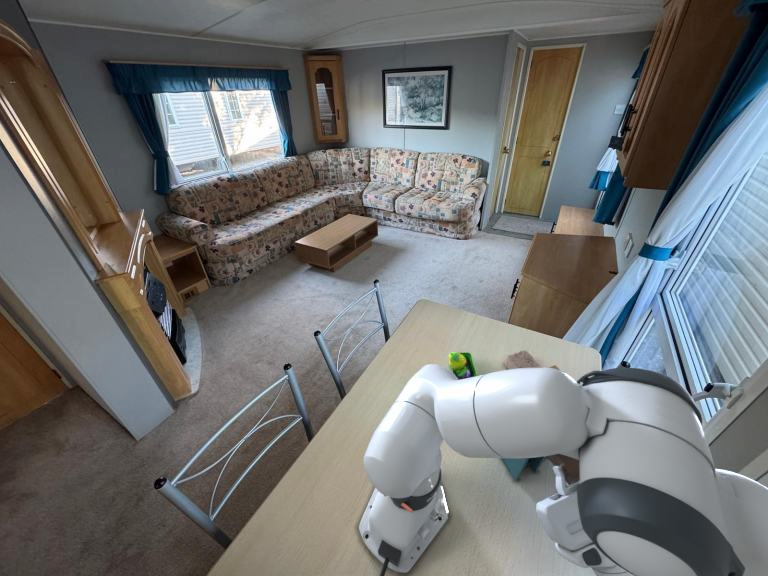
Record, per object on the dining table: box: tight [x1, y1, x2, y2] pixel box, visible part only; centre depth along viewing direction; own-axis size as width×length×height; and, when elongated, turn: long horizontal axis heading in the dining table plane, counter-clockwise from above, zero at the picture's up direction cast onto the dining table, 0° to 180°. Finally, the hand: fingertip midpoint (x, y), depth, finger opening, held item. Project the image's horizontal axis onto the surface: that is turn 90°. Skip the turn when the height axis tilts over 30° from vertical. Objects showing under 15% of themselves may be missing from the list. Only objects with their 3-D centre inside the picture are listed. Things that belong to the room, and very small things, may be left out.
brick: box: [504, 349, 542, 370], centre depth 101 cm, size 17×8×5 cm, turn 20°
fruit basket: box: [448, 351, 478, 380], centre depth 101 cm, size 11×9×11 cm
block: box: [546, 454, 580, 486], centre depth 69 cm, size 22×4×4 cm, turn 19°
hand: (566, 461), depth 62 cm, fingers closed on block, 3 cm apart
